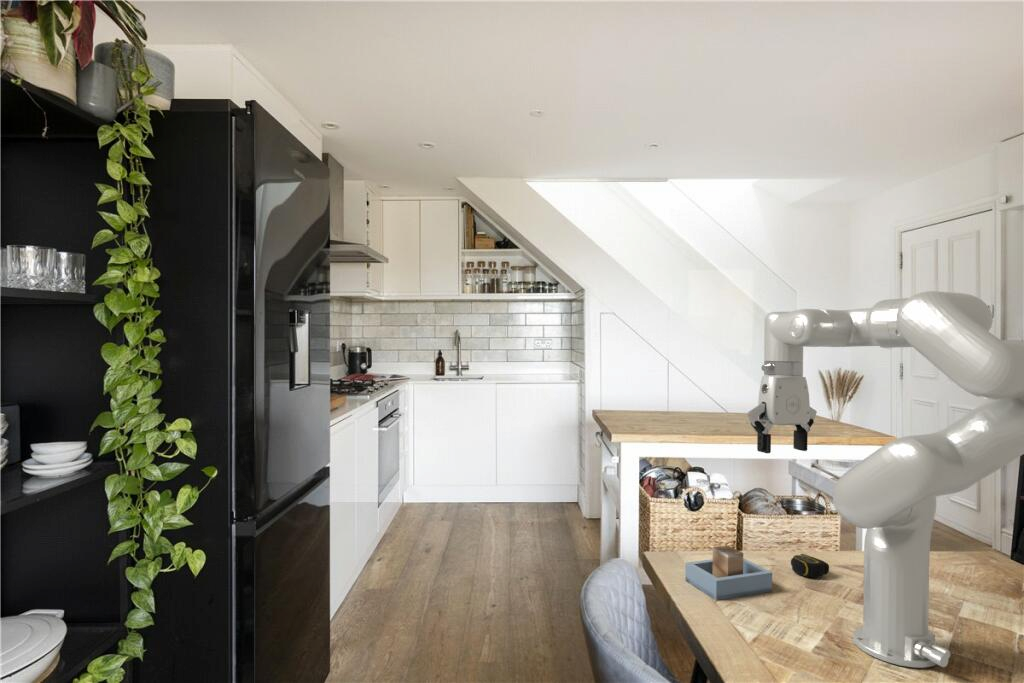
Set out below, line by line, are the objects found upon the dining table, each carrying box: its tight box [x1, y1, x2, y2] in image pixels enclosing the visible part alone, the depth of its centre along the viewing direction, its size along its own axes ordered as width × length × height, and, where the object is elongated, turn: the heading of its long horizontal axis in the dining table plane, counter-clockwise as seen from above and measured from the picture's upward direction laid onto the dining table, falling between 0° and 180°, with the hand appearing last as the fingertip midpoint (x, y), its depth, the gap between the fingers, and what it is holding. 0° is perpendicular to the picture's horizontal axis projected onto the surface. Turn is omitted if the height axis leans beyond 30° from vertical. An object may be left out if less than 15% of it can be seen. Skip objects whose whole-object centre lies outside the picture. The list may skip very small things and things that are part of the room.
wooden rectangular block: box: [712, 545, 744, 578], centre depth 128 cm, size 5×4×7 cm
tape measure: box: [790, 553, 830, 578], centre depth 136 cm, size 7×7×4 cm
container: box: [685, 557, 773, 601], centre depth 128 cm, size 10×14×4 cm
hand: (782, 451), depth 124 cm, fingers open, 9 cm apart
